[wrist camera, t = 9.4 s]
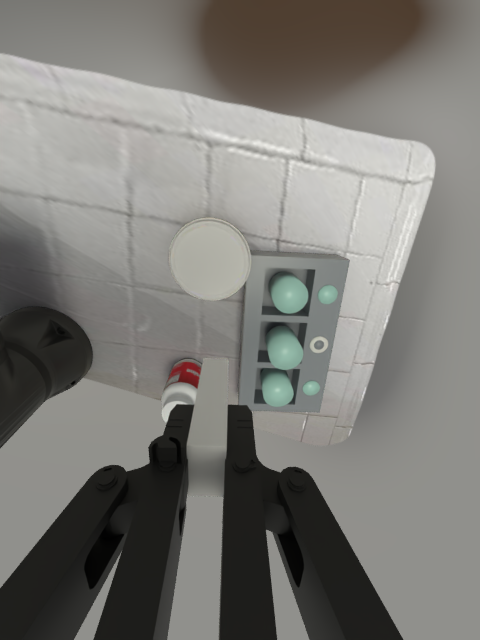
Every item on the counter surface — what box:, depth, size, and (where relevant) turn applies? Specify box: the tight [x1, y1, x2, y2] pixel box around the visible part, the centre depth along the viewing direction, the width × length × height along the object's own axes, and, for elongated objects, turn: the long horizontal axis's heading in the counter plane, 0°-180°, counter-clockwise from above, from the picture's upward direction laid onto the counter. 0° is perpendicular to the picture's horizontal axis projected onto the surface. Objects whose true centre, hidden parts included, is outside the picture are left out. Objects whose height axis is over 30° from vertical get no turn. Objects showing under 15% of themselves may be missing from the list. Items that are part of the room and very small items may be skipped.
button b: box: [265, 326, 303, 370], centre depth 41 cm, size 5×5×5 cm
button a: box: [260, 368, 294, 407], centre depth 45 cm, size 5×5×5 cm
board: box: [238, 250, 350, 412], centre depth 44 cm, size 14×26×5 cm, turn 177°
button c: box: [268, 272, 308, 314], centre depth 40 cm, size 5×5×5 cm
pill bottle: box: [161, 359, 202, 423], centre depth 44 cm, size 6×6×11 cm
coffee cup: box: [169, 217, 251, 301], centre depth 36 cm, size 9×9×12 cm
